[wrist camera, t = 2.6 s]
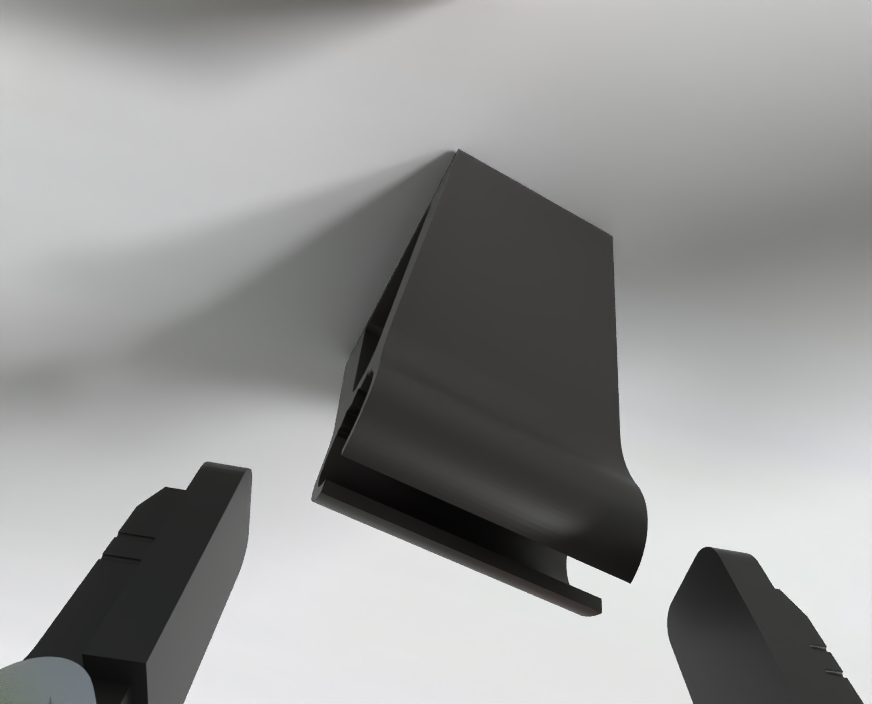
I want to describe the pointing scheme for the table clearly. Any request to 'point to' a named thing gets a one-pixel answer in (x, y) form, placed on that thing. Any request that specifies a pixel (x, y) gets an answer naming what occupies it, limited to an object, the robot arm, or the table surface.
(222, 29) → the table surface
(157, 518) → the robot arm
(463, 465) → the phone stand
